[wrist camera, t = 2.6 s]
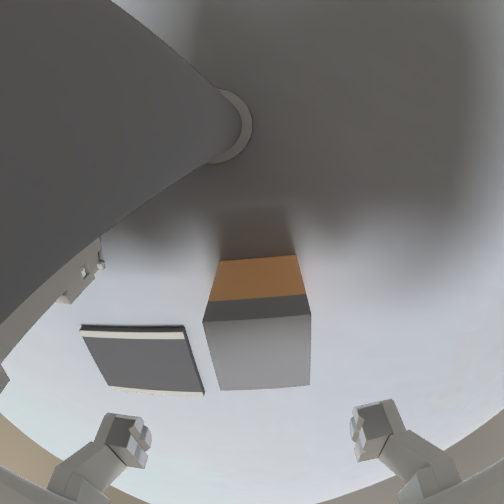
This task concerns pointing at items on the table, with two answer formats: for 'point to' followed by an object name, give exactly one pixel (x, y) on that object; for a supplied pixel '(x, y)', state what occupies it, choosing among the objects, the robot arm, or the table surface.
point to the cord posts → (93, 130)
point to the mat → (145, 360)
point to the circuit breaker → (49, 299)
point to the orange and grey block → (259, 324)
